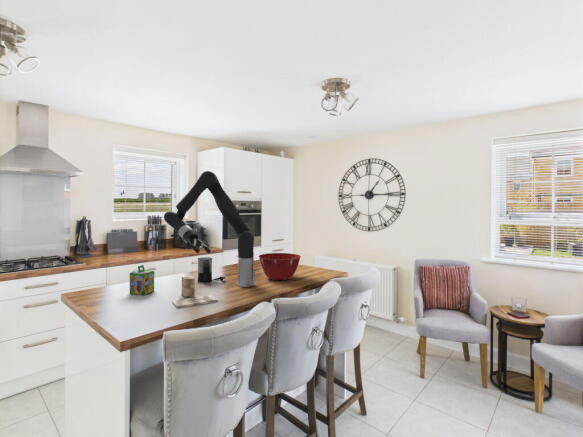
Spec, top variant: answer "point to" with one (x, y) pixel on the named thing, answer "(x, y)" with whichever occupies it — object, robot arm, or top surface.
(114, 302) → the top surface
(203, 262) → the milk frother
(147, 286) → the green patterned box
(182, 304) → the board
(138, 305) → the top surface
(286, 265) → the mixing bowl
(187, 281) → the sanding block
